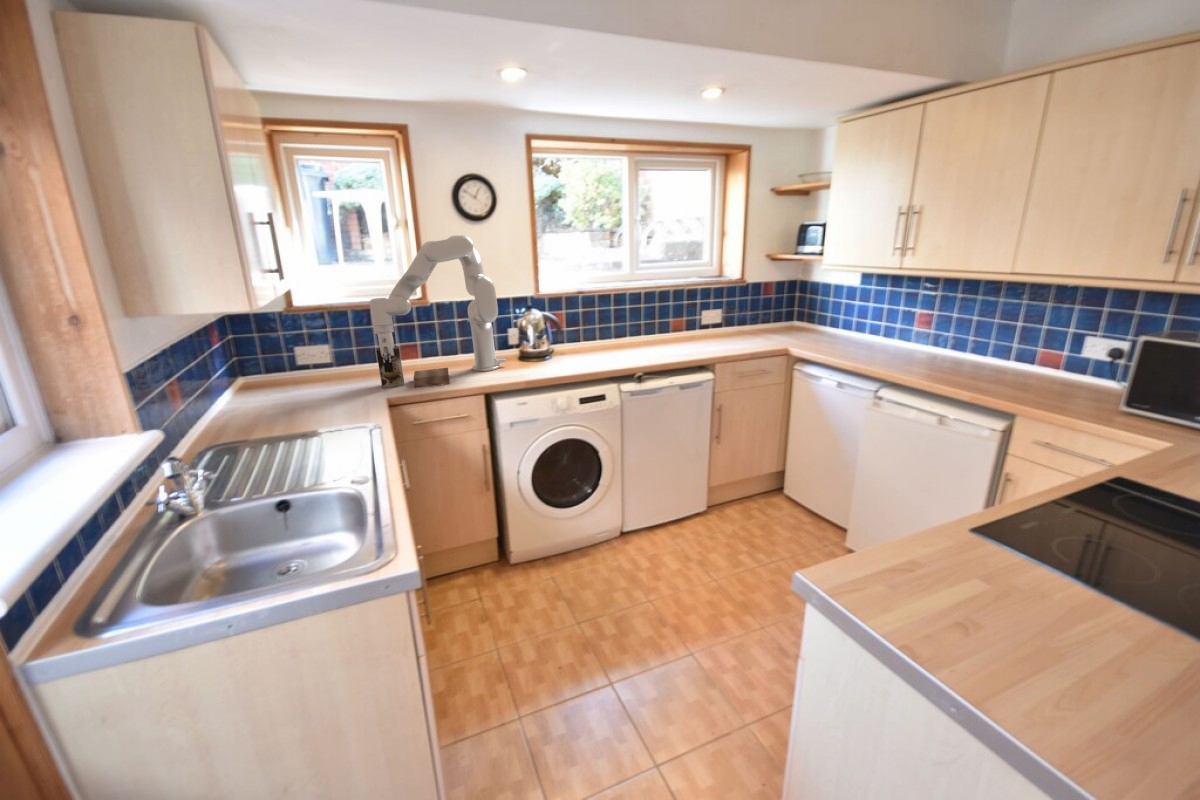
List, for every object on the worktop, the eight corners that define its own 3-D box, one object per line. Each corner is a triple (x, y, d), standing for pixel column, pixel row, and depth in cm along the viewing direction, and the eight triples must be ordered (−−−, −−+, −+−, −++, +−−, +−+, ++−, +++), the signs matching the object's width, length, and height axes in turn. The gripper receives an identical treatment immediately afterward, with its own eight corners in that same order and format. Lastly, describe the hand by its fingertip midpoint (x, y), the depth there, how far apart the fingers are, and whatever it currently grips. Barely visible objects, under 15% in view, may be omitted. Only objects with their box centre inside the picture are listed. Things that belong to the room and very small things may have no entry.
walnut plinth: (449, 376, 235) (447, 367, 234) (449, 383, 223) (448, 374, 222) (416, 379, 231) (414, 371, 230) (415, 387, 219) (413, 378, 218)
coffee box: (382, 388, 220) (375, 350, 215) (382, 384, 226) (375, 347, 221) (405, 385, 223) (399, 348, 218) (404, 381, 229) (398, 345, 224)
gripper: (391, 331, 210) (398, 373, 215) (394, 324, 226) (400, 363, 231) (371, 333, 208) (378, 375, 213) (376, 326, 224) (382, 365, 229)
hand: (390, 369), depth 222 cm, fingers open, 9 cm apart
